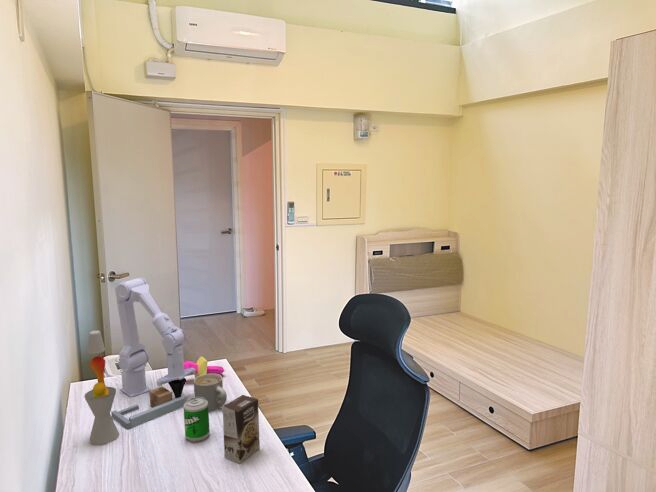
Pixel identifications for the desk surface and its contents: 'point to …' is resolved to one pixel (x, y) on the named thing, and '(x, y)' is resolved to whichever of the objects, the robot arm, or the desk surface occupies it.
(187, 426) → the soda can
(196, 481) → the desk surface
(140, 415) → the grey j-shaped hook
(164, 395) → the cardboard box
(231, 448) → the coffee box
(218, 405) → the coffee mug
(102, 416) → the lava lamp
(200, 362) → the toy
